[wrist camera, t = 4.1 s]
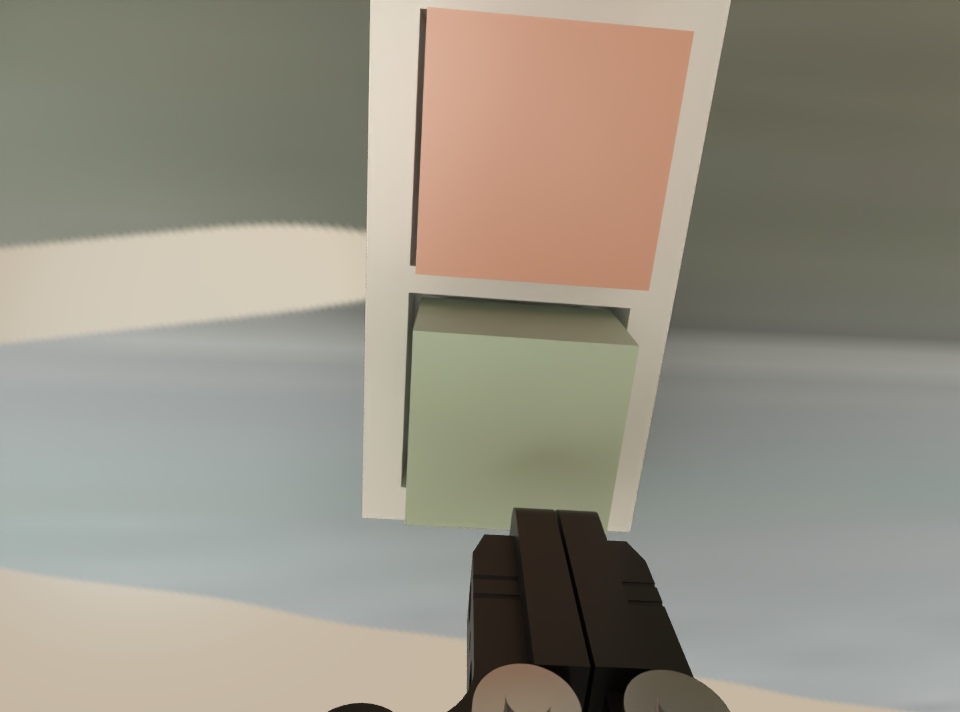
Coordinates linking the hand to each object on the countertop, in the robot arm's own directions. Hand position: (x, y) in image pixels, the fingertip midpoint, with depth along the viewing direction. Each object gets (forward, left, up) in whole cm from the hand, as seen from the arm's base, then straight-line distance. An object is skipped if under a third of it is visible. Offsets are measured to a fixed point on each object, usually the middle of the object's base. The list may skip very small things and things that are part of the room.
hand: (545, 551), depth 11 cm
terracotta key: (-5, +5, -7) cm, 10 cm away
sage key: (0, 0, -7) cm, 7 cm away
